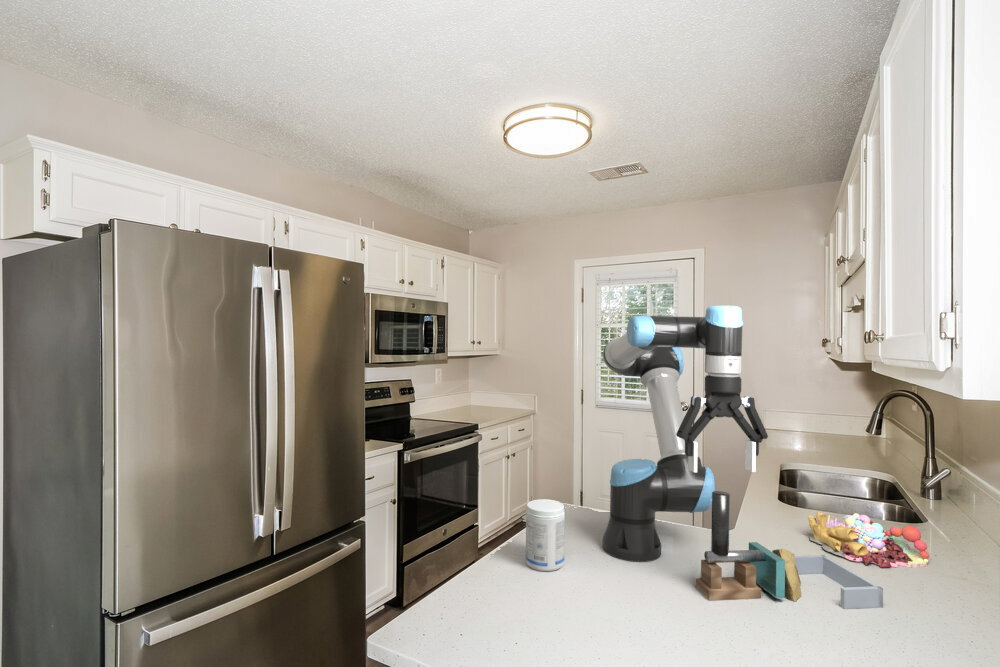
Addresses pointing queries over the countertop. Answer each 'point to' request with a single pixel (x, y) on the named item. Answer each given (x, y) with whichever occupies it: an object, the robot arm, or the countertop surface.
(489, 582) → the countertop surface
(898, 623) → the countertop surface
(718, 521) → the lever handle
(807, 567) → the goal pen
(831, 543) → the colorful coral reef
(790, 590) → the rock
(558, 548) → the supplement tub
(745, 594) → the rod stand
